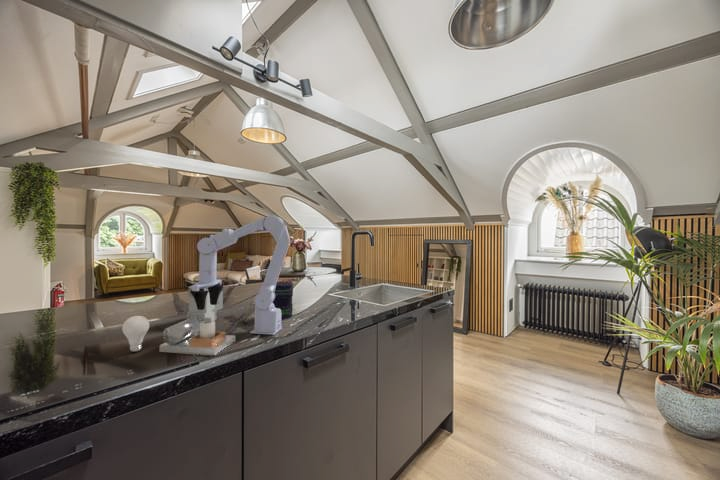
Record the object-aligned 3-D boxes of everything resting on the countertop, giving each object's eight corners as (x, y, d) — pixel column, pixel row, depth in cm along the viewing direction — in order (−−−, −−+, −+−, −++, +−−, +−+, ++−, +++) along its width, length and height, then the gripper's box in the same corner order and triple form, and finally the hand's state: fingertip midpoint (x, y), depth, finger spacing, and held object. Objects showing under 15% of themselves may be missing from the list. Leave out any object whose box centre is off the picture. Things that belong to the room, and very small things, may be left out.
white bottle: (217, 338, 96) (218, 317, 96) (208, 343, 92) (209, 321, 92) (206, 337, 97) (206, 316, 97) (196, 342, 93) (196, 319, 93)
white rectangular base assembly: (235, 341, 100) (235, 319, 100) (214, 355, 88) (214, 330, 88) (186, 338, 102) (186, 316, 102) (159, 351, 90) (159, 327, 90)
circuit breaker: (224, 315, 131) (225, 282, 131) (204, 325, 117) (205, 287, 117) (208, 314, 132) (209, 281, 132) (187, 324, 118) (187, 286, 117)
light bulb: (127, 357, 85) (127, 320, 85) (118, 352, 89) (118, 316, 88) (153, 350, 91) (153, 315, 90) (143, 345, 94) (143, 312, 94)
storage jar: (275, 313, 137) (276, 281, 137) (295, 314, 136) (296, 282, 135) (265, 319, 127) (266, 284, 127) (287, 320, 126) (288, 285, 126)
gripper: (209, 268, 116) (209, 302, 116) (184, 272, 101) (183, 311, 102) (226, 268, 115) (226, 302, 115) (203, 273, 101) (202, 312, 101)
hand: (207, 307), depth 108 cm, fingers open, 7 cm apart
